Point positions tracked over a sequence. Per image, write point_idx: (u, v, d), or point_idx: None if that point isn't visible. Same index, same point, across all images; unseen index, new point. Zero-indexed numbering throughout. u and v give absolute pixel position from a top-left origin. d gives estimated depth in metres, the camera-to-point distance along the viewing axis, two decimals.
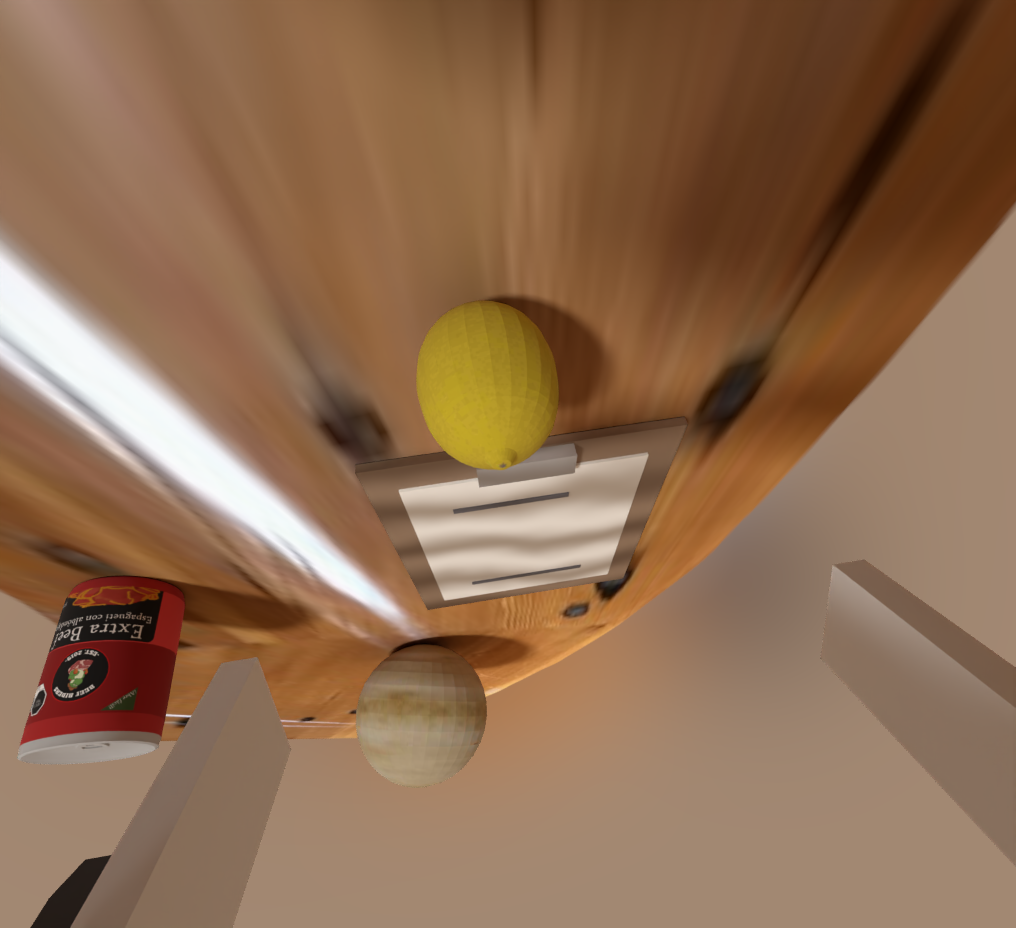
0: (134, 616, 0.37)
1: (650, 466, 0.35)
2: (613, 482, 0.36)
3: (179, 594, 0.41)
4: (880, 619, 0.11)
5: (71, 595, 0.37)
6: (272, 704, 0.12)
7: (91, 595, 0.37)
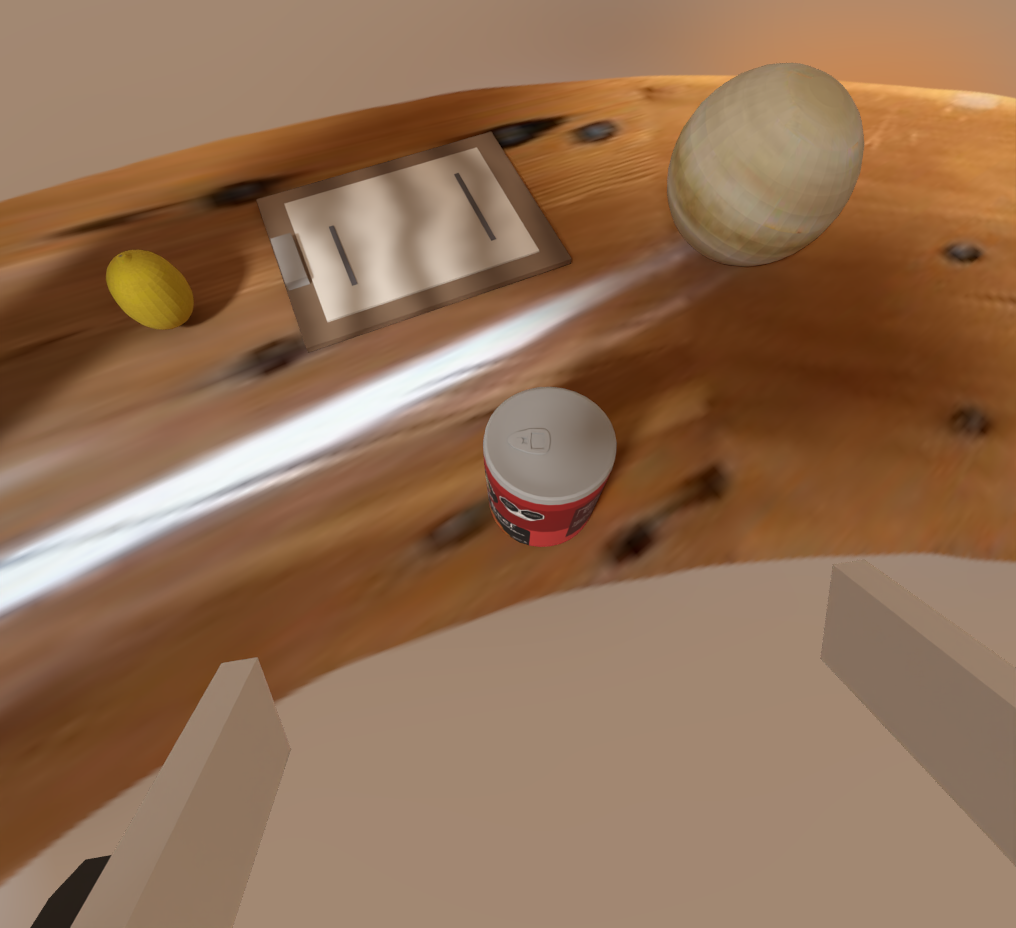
0: None
1: (301, 196, 0.54)
2: (316, 207, 0.53)
3: None
4: (880, 619, 0.11)
5: (508, 535, 0.39)
6: (272, 704, 0.12)
7: (492, 514, 0.39)
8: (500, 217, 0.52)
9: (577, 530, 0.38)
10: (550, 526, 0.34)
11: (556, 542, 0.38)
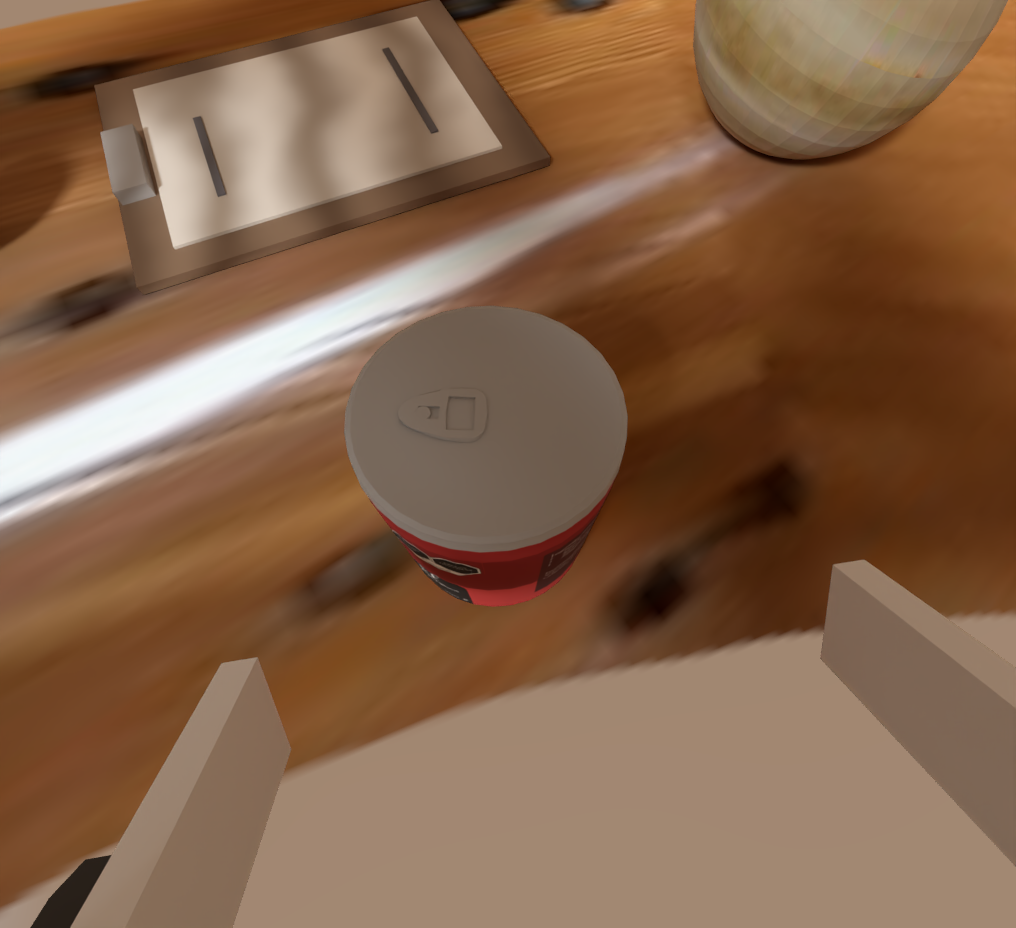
0: None
1: (160, 81, 0.37)
2: (179, 94, 0.36)
3: None
4: (880, 619, 0.11)
5: (439, 587, 0.23)
6: (272, 705, 0.12)
7: None
8: (446, 103, 0.36)
9: (556, 579, 0.21)
10: (499, 583, 0.18)
11: (520, 600, 0.22)
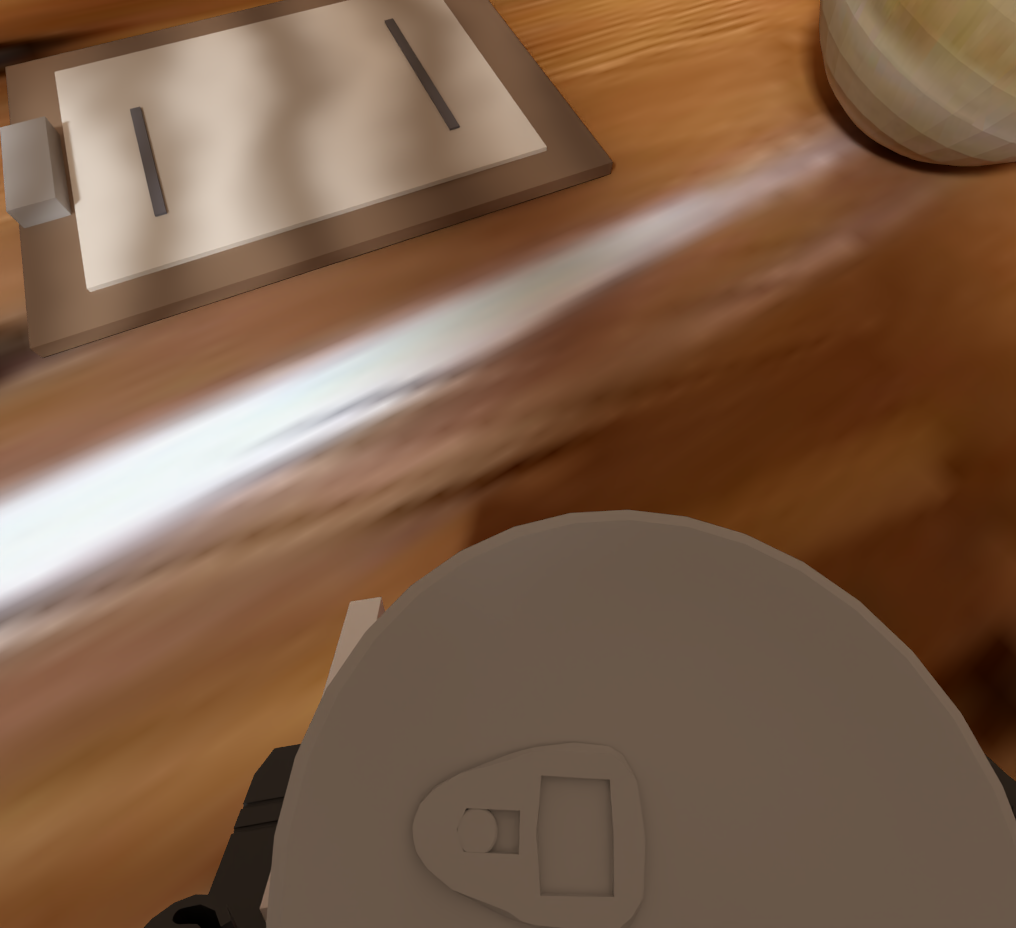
0: None
1: (92, 61, 0.28)
2: (115, 78, 0.27)
3: None
4: None
5: None
6: None
7: None
8: (469, 90, 0.27)
9: None
10: None
11: None
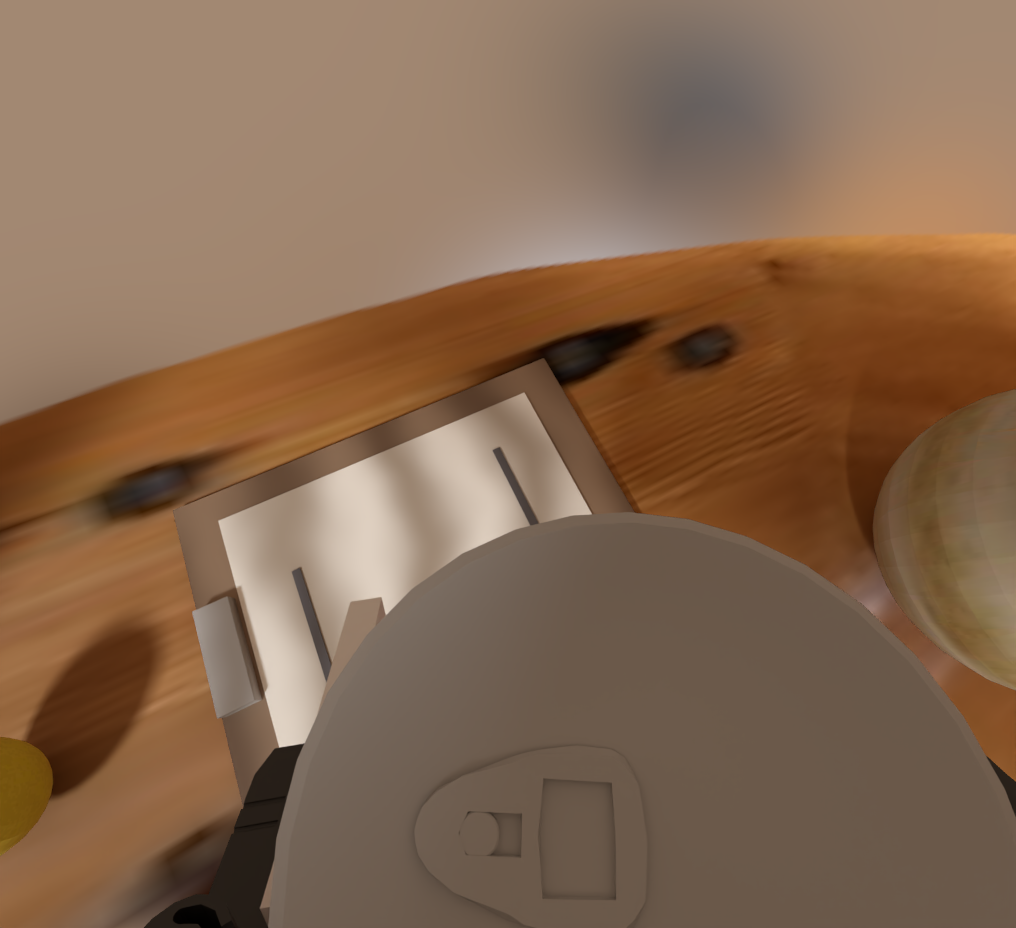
0: None
1: (246, 502, 0.33)
2: (272, 528, 0.32)
3: None
4: None
5: None
6: None
7: None
8: None
9: None
10: None
11: None
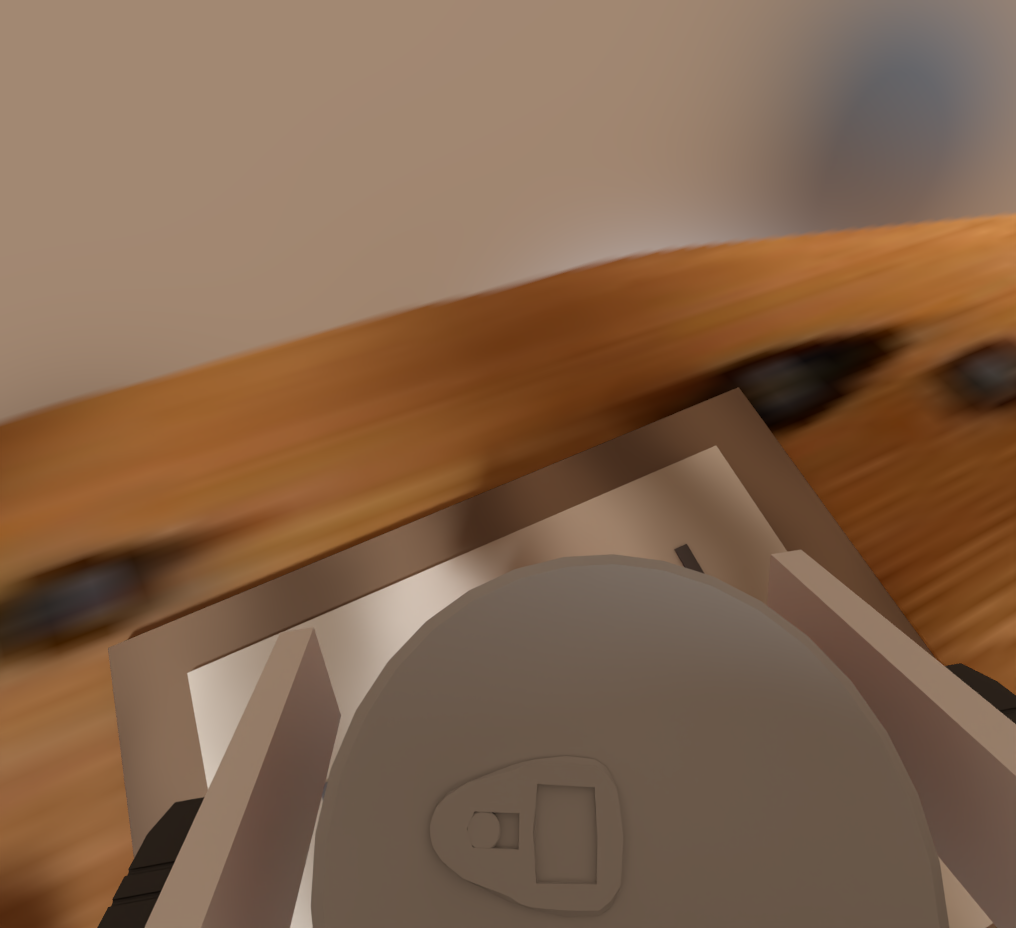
0: None
1: (240, 635, 0.18)
2: None
3: None
4: (809, 605, 0.11)
5: None
6: (325, 672, 0.12)
7: None
8: None
9: None
10: None
11: None
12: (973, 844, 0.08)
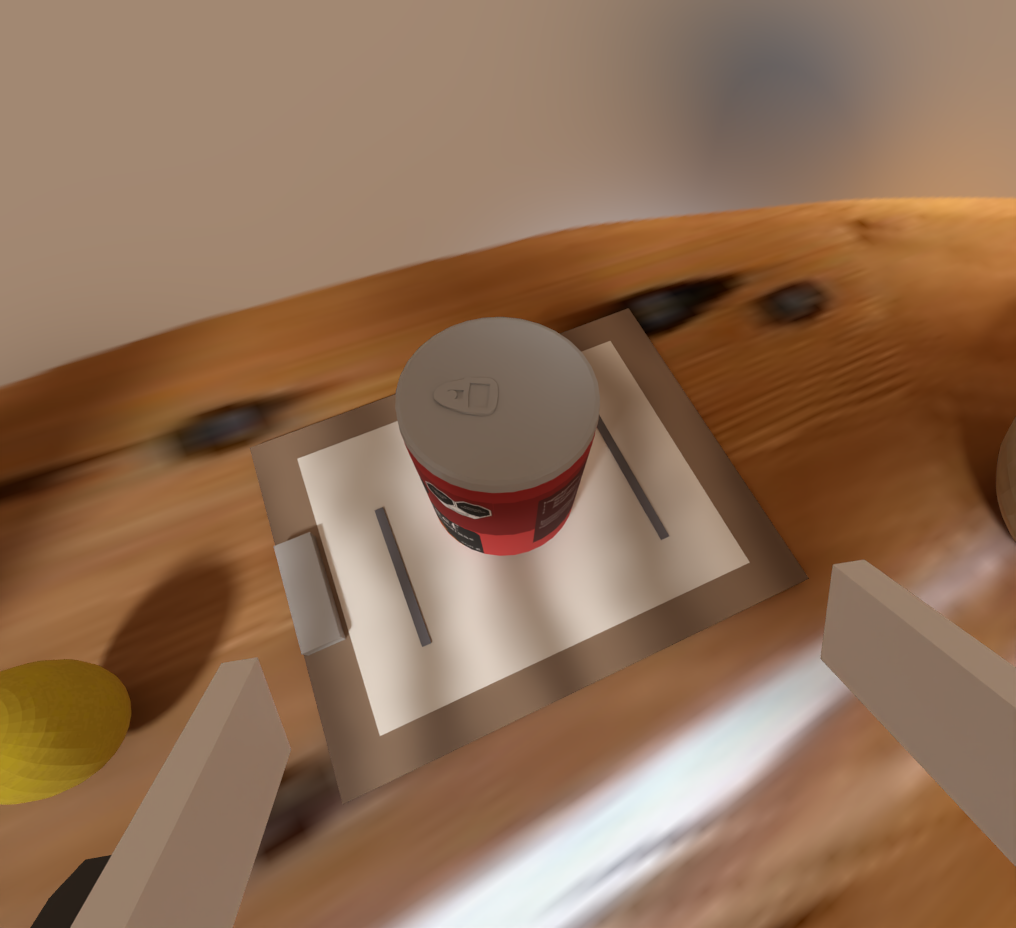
0: None
1: (325, 441, 0.32)
2: (353, 467, 0.31)
3: None
4: (880, 619, 0.11)
5: (456, 539, 0.28)
6: (271, 704, 0.12)
7: None
8: (669, 487, 0.30)
9: (550, 533, 0.27)
10: (505, 527, 0.23)
11: (521, 550, 0.27)
12: None
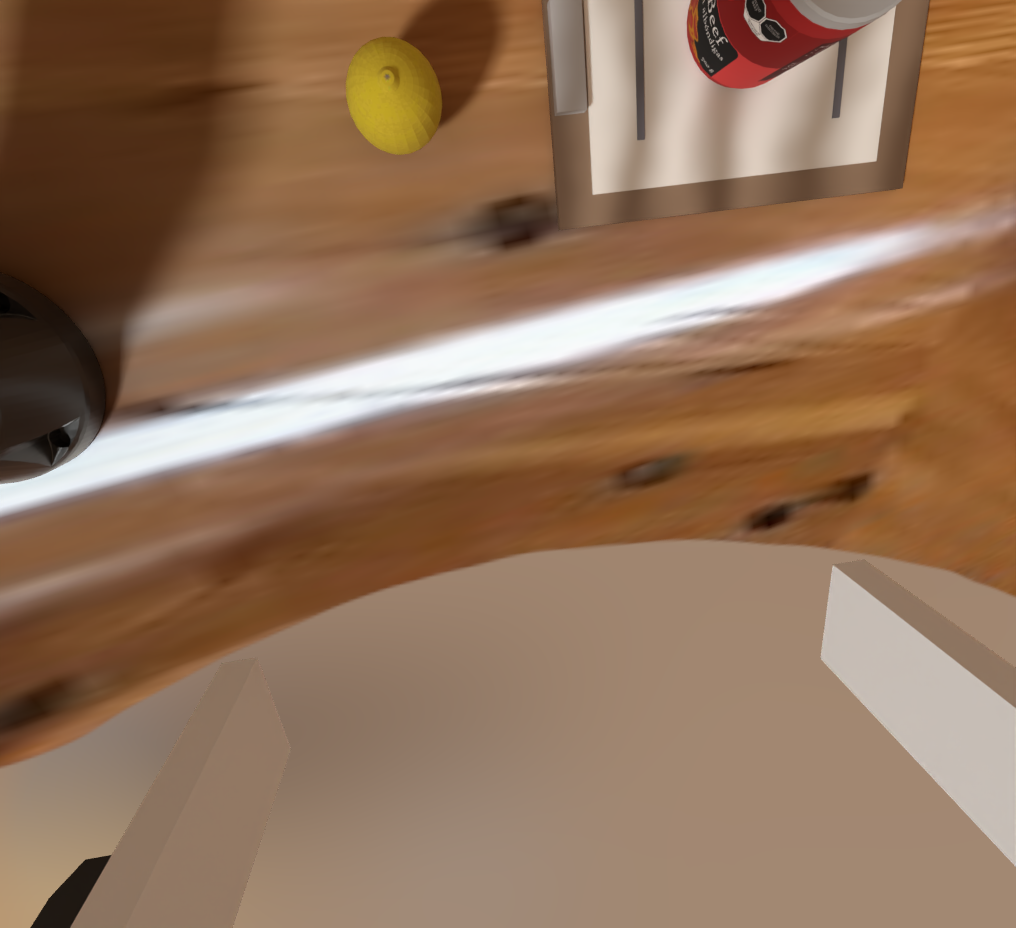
0: None
1: None
2: None
3: None
4: (881, 620, 0.11)
5: (696, 55, 0.34)
6: (272, 704, 0.12)
7: (692, 16, 0.33)
8: (864, 73, 0.36)
9: (772, 78, 0.34)
10: (770, 57, 0.30)
11: (742, 85, 0.34)
12: None
